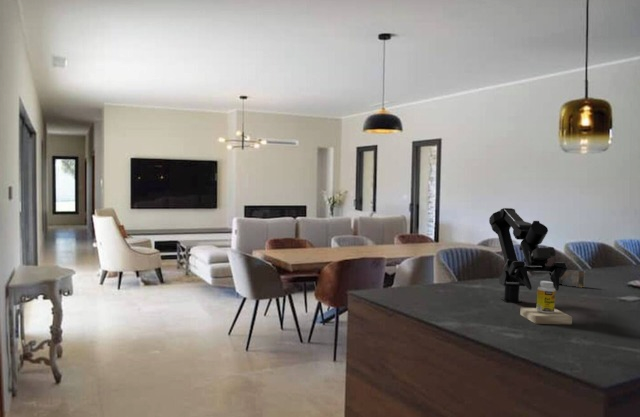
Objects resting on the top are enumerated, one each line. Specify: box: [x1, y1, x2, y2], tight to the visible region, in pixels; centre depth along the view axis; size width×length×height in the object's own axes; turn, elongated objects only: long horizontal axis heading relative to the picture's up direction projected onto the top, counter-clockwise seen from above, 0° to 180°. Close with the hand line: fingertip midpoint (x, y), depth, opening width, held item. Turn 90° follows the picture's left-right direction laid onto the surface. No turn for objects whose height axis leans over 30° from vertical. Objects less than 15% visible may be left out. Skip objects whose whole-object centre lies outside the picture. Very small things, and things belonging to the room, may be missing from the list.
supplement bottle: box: [535, 280, 556, 313], centre depth 175 cm, size 6×6×10 cm
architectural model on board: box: [559, 269, 586, 288], centre depth 242 cm, size 11×3×10 cm, turn 64°
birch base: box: [519, 307, 573, 325], centre depth 175 cm, size 12×12×2 cm
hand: (544, 289), depth 176 cm, fingers open, 9 cm apart
